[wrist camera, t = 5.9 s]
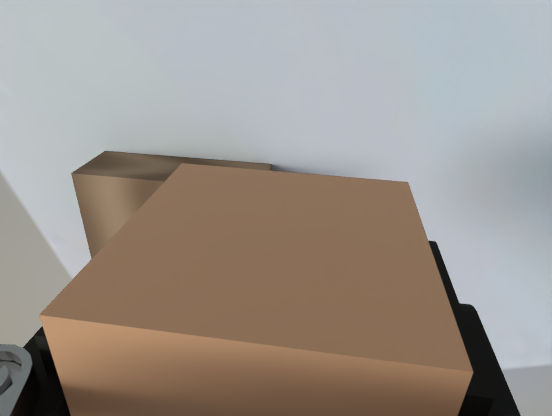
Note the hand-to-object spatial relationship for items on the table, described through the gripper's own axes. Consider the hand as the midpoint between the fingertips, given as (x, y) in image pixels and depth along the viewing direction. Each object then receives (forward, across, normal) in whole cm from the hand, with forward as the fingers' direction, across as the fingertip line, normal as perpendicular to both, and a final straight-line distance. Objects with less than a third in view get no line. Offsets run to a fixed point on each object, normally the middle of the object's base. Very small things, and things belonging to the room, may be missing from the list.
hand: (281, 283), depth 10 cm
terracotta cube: (+1, 0, 0) cm, 1 cm away
